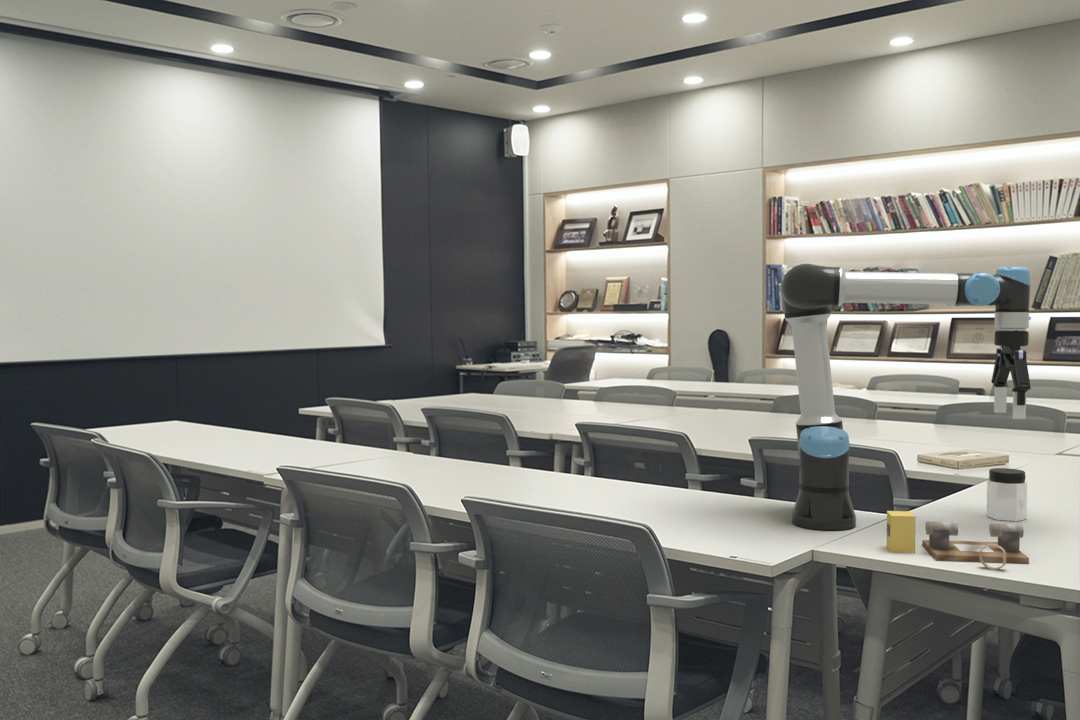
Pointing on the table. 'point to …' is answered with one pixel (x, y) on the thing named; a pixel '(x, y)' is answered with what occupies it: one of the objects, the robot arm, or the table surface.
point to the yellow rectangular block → (900, 531)
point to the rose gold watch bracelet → (986, 564)
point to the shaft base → (974, 544)
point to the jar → (1007, 494)
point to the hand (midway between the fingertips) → (1009, 415)
